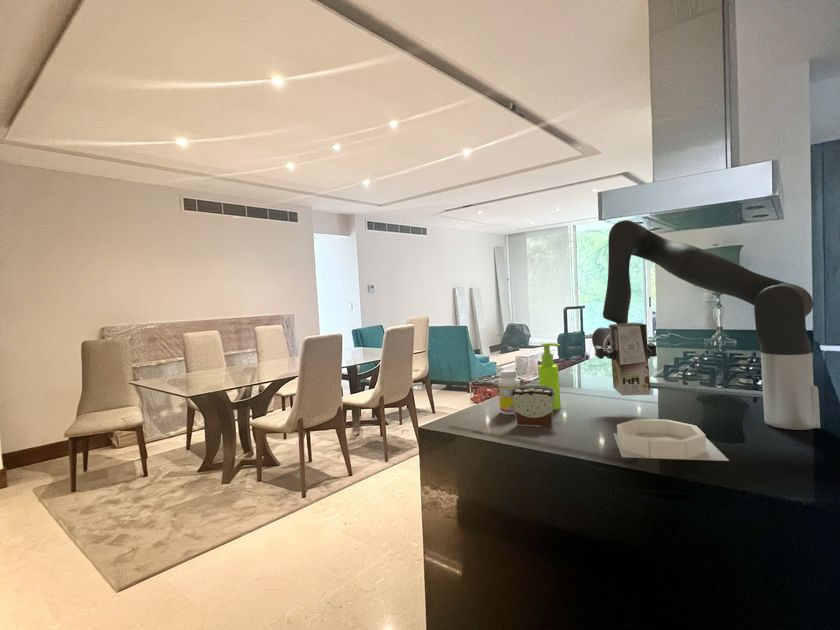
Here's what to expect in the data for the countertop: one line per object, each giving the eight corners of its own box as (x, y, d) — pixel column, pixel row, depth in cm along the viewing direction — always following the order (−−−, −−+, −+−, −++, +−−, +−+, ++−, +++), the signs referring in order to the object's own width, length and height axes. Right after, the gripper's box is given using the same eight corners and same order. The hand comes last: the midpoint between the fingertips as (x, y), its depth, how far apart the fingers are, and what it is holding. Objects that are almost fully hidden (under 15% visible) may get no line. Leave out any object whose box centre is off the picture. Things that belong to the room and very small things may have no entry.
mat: (703, 436, 99) (703, 435, 99) (729, 462, 84) (729, 460, 84) (613, 435, 105) (613, 433, 105) (622, 458, 90) (622, 457, 90)
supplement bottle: (508, 408, 137) (505, 368, 137) (526, 411, 133) (523, 369, 132) (495, 413, 133) (492, 371, 132) (514, 416, 128) (510, 373, 128)
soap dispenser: (561, 410, 130) (556, 344, 130) (538, 409, 134) (534, 344, 134) (566, 406, 135) (561, 342, 135) (544, 404, 139) (539, 342, 138)
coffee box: (652, 395, 98) (647, 324, 98) (621, 396, 99) (616, 326, 99) (640, 386, 107) (636, 321, 106) (612, 387, 108) (608, 323, 108)
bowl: (691, 434, 100) (690, 419, 100) (714, 460, 85) (713, 442, 85) (615, 433, 105) (614, 419, 105) (624, 457, 90) (623, 440, 90)
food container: (561, 421, 120) (558, 385, 120) (558, 427, 114) (555, 389, 114) (516, 419, 125) (514, 384, 125) (511, 425, 120) (509, 389, 119)
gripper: (589, 334, 119) (596, 340, 103) (648, 331, 114) (664, 337, 99) (591, 361, 119) (598, 372, 103) (649, 359, 115) (666, 369, 99)
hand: (630, 354), depth 101 cm, fingers closed on coffee box, 6 cm apart
